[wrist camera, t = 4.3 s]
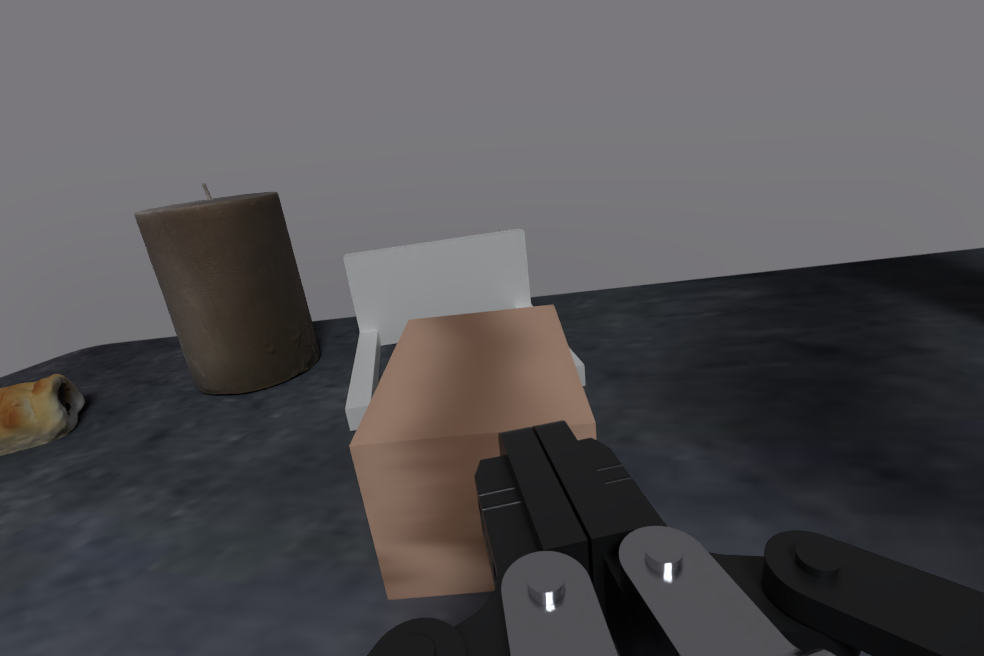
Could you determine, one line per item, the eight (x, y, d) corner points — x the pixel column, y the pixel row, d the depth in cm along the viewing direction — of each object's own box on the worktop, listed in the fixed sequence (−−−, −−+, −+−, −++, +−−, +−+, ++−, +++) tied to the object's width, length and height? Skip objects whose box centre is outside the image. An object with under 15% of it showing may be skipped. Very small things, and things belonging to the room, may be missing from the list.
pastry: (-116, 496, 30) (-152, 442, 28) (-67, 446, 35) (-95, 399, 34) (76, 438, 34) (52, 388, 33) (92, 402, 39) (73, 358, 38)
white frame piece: (528, 314, 46) (520, 228, 43) (585, 385, 32) (579, 265, 29) (364, 342, 44) (344, 254, 41) (350, 431, 30) (319, 307, 27)
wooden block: (561, 415, 30) (553, 304, 27) (602, 586, 18) (595, 423, 16) (428, 428, 30) (408, 319, 27) (389, 602, 19) (349, 445, 16)
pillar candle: (327, 373, 39) (276, 173, 34) (187, 410, 35) (107, 194, 30) (314, 337, 47) (273, 174, 42) (200, 365, 44) (140, 190, 39)
